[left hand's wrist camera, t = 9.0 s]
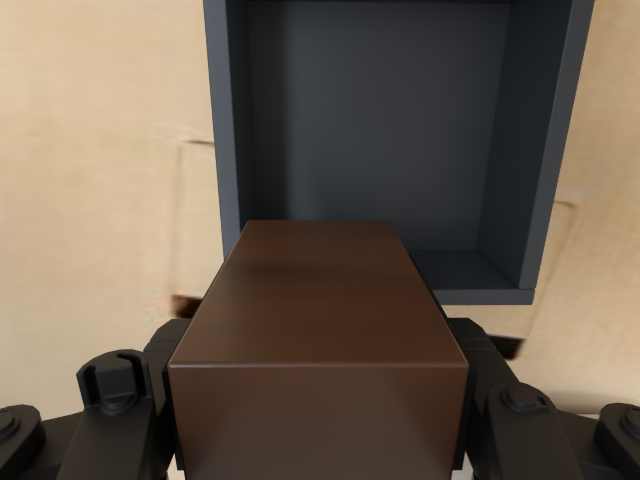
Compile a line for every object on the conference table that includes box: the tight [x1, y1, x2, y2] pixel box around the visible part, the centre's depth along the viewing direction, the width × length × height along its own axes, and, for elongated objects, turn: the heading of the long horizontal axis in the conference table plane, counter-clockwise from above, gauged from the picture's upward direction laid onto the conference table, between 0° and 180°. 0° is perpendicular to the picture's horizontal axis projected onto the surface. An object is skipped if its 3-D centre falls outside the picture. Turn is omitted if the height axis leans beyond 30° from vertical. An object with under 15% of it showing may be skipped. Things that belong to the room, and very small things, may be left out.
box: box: [203, 0, 595, 305], centre depth 17 cm, size 23×14×6 cm, turn 0°
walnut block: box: [167, 220, 469, 480], centre depth 11 cm, size 5×5×8 cm
